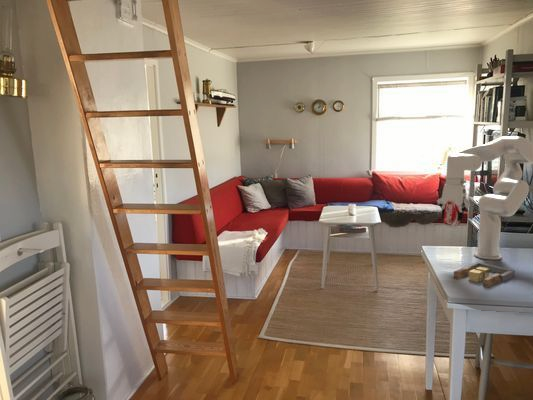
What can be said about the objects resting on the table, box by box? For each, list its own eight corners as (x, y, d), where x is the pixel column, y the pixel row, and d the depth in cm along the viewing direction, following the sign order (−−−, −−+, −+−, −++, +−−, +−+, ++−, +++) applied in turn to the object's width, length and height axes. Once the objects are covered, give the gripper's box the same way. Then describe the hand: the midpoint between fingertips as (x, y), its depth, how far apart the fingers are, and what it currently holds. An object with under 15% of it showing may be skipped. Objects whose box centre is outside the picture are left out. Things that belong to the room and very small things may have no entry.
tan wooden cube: (472, 278, 191) (473, 269, 191) (482, 280, 188) (482, 271, 188) (468, 280, 189) (469, 271, 188) (477, 282, 186) (478, 273, 185)
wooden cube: (479, 275, 195) (480, 266, 194) (488, 277, 192) (489, 268, 191) (475, 277, 193) (475, 268, 192) (484, 279, 189) (485, 270, 189)
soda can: (461, 227, 205) (463, 202, 203) (445, 226, 207) (446, 201, 205) (458, 224, 212) (459, 199, 210) (442, 223, 214) (444, 199, 212)
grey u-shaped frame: (476, 266, 206) (477, 261, 206) (514, 275, 194) (514, 270, 193) (464, 272, 199) (464, 266, 199) (502, 281, 187) (503, 275, 186)
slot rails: (467, 272, 198) (467, 266, 198) (499, 280, 187) (500, 274, 187) (453, 278, 191) (453, 271, 190) (486, 287, 180) (487, 280, 179)
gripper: (477, 182, 202) (474, 221, 204) (441, 179, 215) (439, 215, 218) (468, 184, 197) (466, 223, 200) (433, 180, 210) (431, 217, 213)
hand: (452, 218), depth 209 cm, fingers closed on soda can, 7 cm apart
